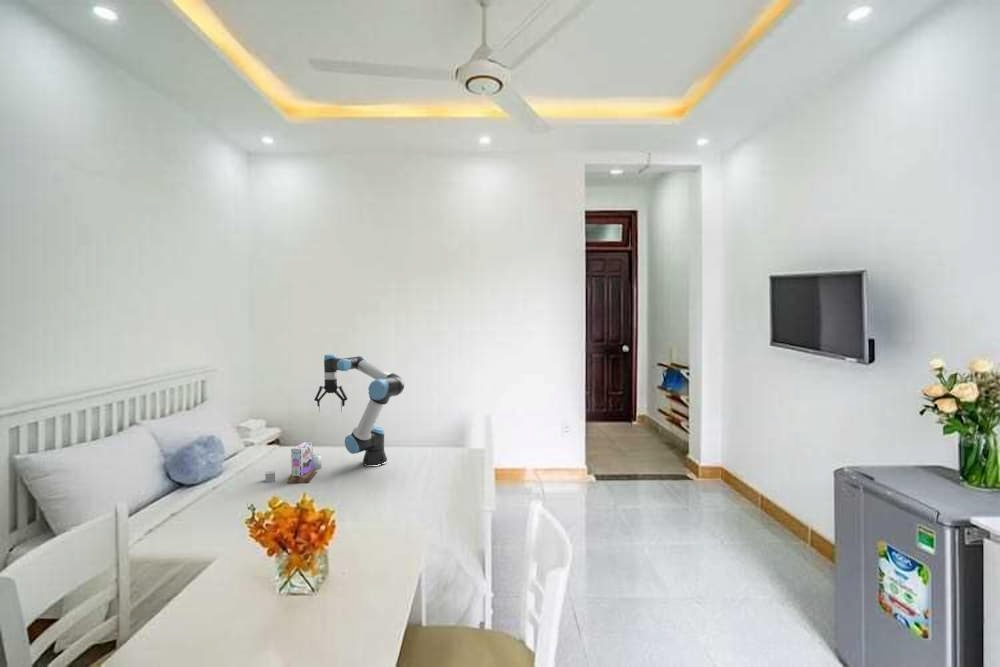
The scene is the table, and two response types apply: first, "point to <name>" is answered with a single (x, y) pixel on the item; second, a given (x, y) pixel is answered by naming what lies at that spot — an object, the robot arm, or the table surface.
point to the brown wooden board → (302, 477)
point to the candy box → (302, 459)
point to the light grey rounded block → (317, 461)
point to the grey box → (270, 476)
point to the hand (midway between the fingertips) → (331, 411)
